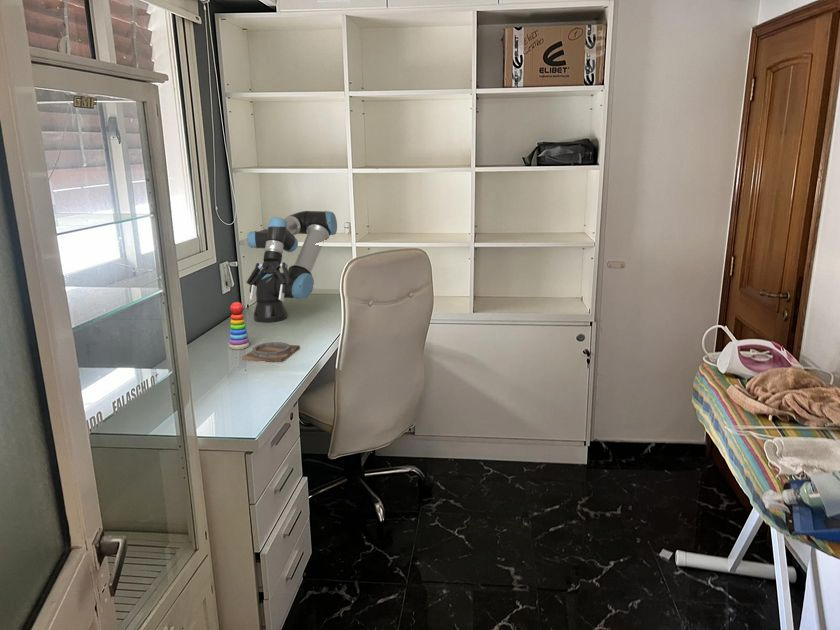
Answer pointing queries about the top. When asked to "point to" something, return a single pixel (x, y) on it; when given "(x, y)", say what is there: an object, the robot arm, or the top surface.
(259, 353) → the collar board
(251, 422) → the top surface
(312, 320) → the top surface
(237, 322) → the stacking toy
